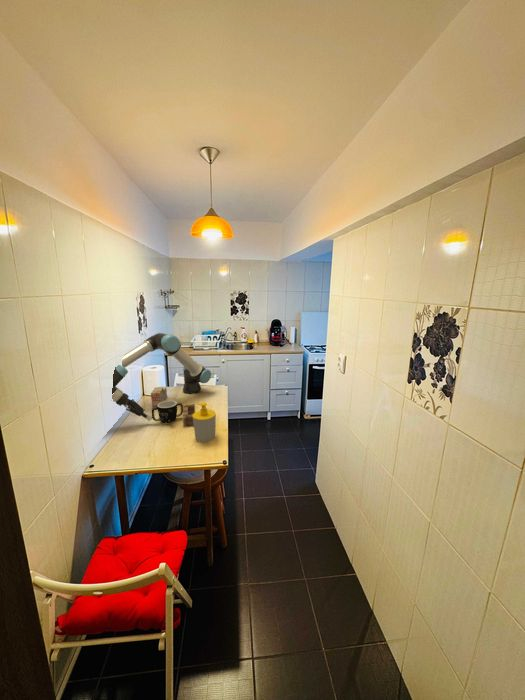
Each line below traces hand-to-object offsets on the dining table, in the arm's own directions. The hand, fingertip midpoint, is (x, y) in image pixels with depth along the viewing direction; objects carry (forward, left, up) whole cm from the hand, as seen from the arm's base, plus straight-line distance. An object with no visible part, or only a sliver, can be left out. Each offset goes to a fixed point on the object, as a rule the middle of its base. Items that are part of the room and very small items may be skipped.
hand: (150, 419), depth 177 cm
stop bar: (-23, +6, -3) cm, 24 cm away
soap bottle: (-25, +34, -4) cm, 42 cm away
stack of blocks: (-11, -33, -4) cm, 35 cm away
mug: (-10, +2, -4) cm, 11 cm away
